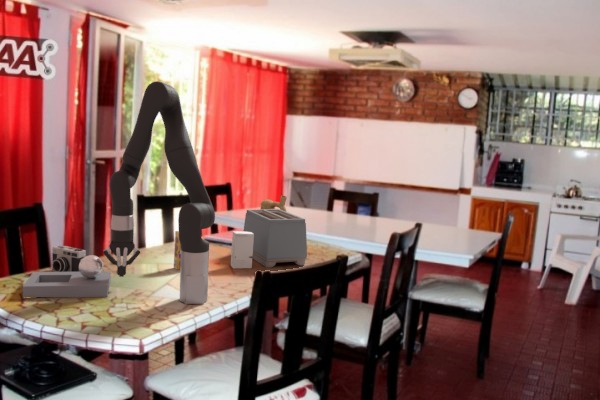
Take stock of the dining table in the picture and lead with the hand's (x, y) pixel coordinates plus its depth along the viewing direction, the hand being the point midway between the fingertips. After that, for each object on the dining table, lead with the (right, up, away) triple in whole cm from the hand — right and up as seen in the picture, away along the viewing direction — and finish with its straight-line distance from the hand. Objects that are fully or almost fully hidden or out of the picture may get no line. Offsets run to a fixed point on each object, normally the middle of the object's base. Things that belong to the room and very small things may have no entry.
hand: (121, 276), depth 204 cm
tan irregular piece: (+48, +5, +93) cm, 105 cm away
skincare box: (+38, -2, +40) cm, 55 cm away
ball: (-10, +4, -3) cm, 11 cm away
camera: (-26, -1, +16) cm, 31 cm away
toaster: (+49, 0, +60) cm, 77 cm away
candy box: (+16, -1, +33) cm, 37 cm away
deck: (-17, -4, -4) cm, 18 cm away
